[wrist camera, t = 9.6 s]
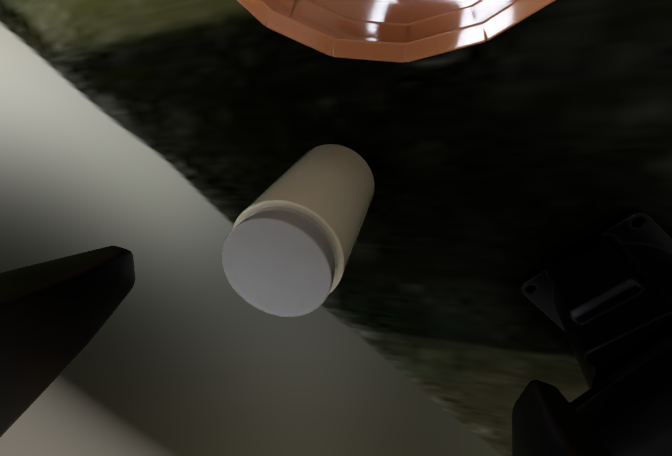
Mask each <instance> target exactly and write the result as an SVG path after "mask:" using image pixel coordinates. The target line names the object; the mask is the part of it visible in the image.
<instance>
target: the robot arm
mask: <svg viewBox="0 0 672 456" xmlns="http://www.w3.org/2000/svg"><path fill="white" fill-rule="evenodd" d="M637 218H641V219H640V221H639V222H638V223H636V224H631V223H632V221H633V220H634V219H637ZM134 282H135V272H134V262H133V255H132V253H131V251H129V250H127V249H124V248H121V247H117V246H109V247H105V248H101V249H96V250H92V251H88V252H85V253H80V254H76V255H72V256H68V257H64V258H59V259H55V260H51V261H47V262H43V263H39V264H35V265H31V266H26V267H23V268H18V269H14V270H10V271H6V272H2V273H0V437H1V436H2V435H3V434H4V433H5V432H6V431H7V430H8V429H9V427H10V426H11V425H12V424H13V423H14V422H15V421H16V420H17V419H18V418H19V417H20V416H21V415H22V414H23V413H24V411H26V410H27V409H28V407H29V406H30V405H31V404H32V403H33V402H34V401H35V400H36V399H37V398H38V397H39V396H40V395H41V393H43V391H45V389H46V388H47V387H48V386H49V385H50V384H51V383H52V382H53V381H54V380H55V379H56V378H57V377H58V376H59V375H60V374H61V373H62V372H63V370H64V369H65V368H66V367H67V366H68V365H69V364H70V363H71V362H72V361H73V360H74V359H75V358H76V357H77V356H78V354H80V352H81V351H82V350H83V349H84V348H85V347H86V346H87V345H88V344H89V343H90V341H91V340H92V339H93V338H94V336H95V335H96V334H97V333H98V331H99V330H100V329H101V327H102V326H103V325H104V323H106V321H107V320H108V319H109V317H110V316H111V315H112V314H113V312H114V311H115V310H116V308H117V307H118V306H119V305H120V303H121V302H122V301H123V299H124V298H125V297H126V296H127V294H128V293H129V292H130V290H131V289H132V287H133V285H134ZM530 285H534V286H535V287H534V288H531V289H529V288H527V287H528V286H530ZM520 289H521V292H522V293H523V294H524V295H525V296H526V297H527V298H528V299H529V300H530V301H531V302H533V303H534V304H535V305H536V306H537V307H538V308H539V309H540V310H541V311H542V312H544V313H545V314H546V315H547V316H548V317H549V318H550V319H551V320H552V321H553V322H555V323H556V324H557V325H558V326H559V327H560V328H561V329H562V330H563V331H565V332H566V334H567V337H568V339H569V341H570V344H571V346H572V349H573V351H574V353H575V356H576V358H577V360H578V363H579V365H580V367H581V370H582V372H583V374H584V377H585V379H586V381H587V384H588V386H589V388H590V389H589V390H588V391H587V392H585V393H584V394H582V395H581V396H579V397H578V398H576V399H575V400H574V401H572V402H571V403H569V402H568V401H567V400H566V399H565V397H564V396H563V395H562V394H561V393H560V391H559V390H558V389H557V388H556V387H554V386H553V385H550V384H547V383H544V382H541V381H537V380H533V381H531V382H530V383H529V384H528V385H527V387H526V388H525V389H524V391H523V392H522V394H521V395H520V397H519V398H518V400H517V401H516V403H515V405H514V407H513V411H512V449H513V456H672V238H671V237H670V236H669V235H668V234H667V233H666V232H665V231H664V230H663V229H662V228H661V227H660V226H659V225H658V224H657V223H656V222H655V221H654V220H653V219H652V218H651V217H650V216H649V215H648V214H647V213H645V212H644V211H642V210H638V209H636V210H631V211H629V212H627V213H625V214H623V215H622V216H620V217H619V218H617V219H616V220H614V221H613V222H611V223H609V224H608V225H606V226H605V227H603V228H602V229H600V230H599V231H597V232H595V233H591V234H589V235H588V236H586V237H585V238H583V239H582V240H580V241H579V242H577V243H575V244H574V245H572V246H571V247H569V248H568V249H566V250H565V251H563V252H561V253H560V254H558V255H557V256H555V257H554V258H552V259H551V260H549V261H548V262H547V264H546V265H544V266H543V267H541V268H539V269H538V270H536V271H535V272H533V273H532V274H530V275H529V276H527V277H525V278H524V279H523V280H522V281H521V282H520Z"/></svg>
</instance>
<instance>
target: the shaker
mask: <svg viewBox="0 0 672 456" xmlns="http://www.w3.org/2000/svg"><path fill="white" fill-rule="evenodd" d="M373 195H374V178H373V174H372V172H371V169H370V168H369V166H368V164H367V163H366V161H365V160H364V159H363V158H362V157H361V156H360V155H359V154H357V153H356V152H355V151H353V150H351V149H349V148H347V147H345V146H341V145H336V144H326V145H321V146H318V147H315V148H313V149H311V150H310V151H308V152H307V153H306V154H305V155H304V156H302V157H301V158H300V159H299V160H298V161H297V162H296V163H295V164H294V165H293V166H292V167H291V168H289V169H288V170H287V171H286V172H285V173H284V174H283V175H282V176H281V177H280V178H279V179H278V180H276V181H275V182H274V183H273V184H272V185H271V186H270V187H269V188H268V189H267V190H266V191H265V192H263V193H262V194H261V195H260V196H259V197H258V198H257V199H256V200H255V201H254V202H253V203H252V204H250V205H249V206H248V207H247V208H246V209H245V210H244V211H243V212H242V213H241V214H240V215H239V216H238V218H237V220H236V221H235V223H234V226H233V228H232V231H231V232H230V233H229V234H228V236H227V237H226V239H225V242H224V245H223V249H222V264H223V269H224V271H225V274H226V277H227V279H228V281H229V282H230V284H231V286H232V287H233V288H234V290H235V291H236V292H237V293H238V294H239V295H240V296H241V297H242V298H243V299H244V300H245V301H247V302H248V303H249V304H251V305H252V306H254V307H256V308H258V309H259V310H261V311H263V312H266V313H269V314H272V315H276V316H282V317H296V316H301V315H305V314H308V313H310V312H312V311H314V310H315V309H317V308H318V307H319V306H321V304H322V303H323V302H324V301H325V300H326V298H327V297H328V295H329V294H330V293H331V292H332V291H333V290H334V289H335V288H336V286H337V285H338V284H339V282H340V280H341V278H342V275H343V273H344V270H345V268H346V265H347V263H348V260H349V257H350V255H351V252H352V250H353V247H354V245H355V242H356V240H357V237H358V234H359V232H360V229H361V227H362V224H363V222H364V219H365V217H366V214H367V211H368V209H369V206H370V204H371V201H372V198H373Z"/></svg>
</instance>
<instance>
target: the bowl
mask: <svg viewBox="0 0 672 456" xmlns="http://www.w3.org/2000/svg"><path fill="white" fill-rule="evenodd" d="M237 1H238V2H239V3H240V4H241V5H242V6H243V7H245V8H246V9H247V10H248V11H249V12H250V13H251V14H252V15H253V16H254V17H255V18H256V19H258V20H259V21H260V22H261V23H262V24H263V25H264V26H267V28H269V29H271V30H273V31H276V32H278V33H280V34H282V35H284V36H287V37H289V38H291V39H293V40H295V41H298V42H300V43H302V44H304V45H306V46H309V47H311V48H313V49H315V50H317V51H320V52H322V53H324V54H326V55H328V56H333V57H336V58H349V59H361V60H374V61H387V62H399V63H405V62H412V61H415V60H419V59H423V58H427V57H431V56H435V55H438V54H442V53H446V52H450V51H454V50H458V49H462V48H465V47H469V46H473V45H477V44H481V43H484V42H486V41H489V40H491V39H492V38H494V37H496V36H497V35H499V34H501V33H502V32H504V31H506V30H507V29H509V28H511V27H512V26H514V25H516V24H517V23H519V22H521V21H522V20H524V19H526V18H527V17H529V16H531V15H532V14H534V13H535V12H537V11H539V10H540V9H542V8H544V7H545V6H547V5H549V4H550V3H552V2H554V1H555V0H237Z"/></svg>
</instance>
